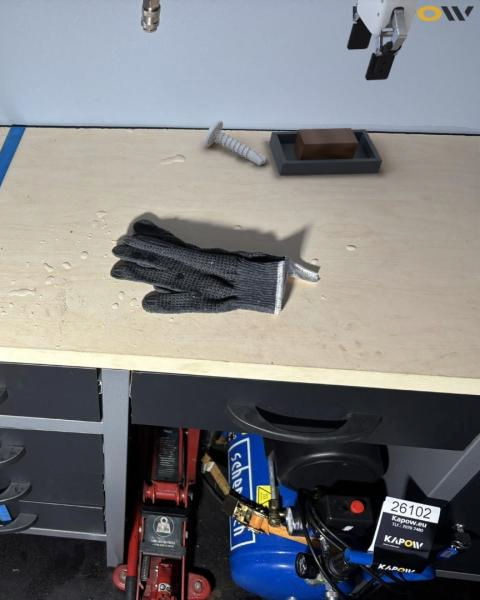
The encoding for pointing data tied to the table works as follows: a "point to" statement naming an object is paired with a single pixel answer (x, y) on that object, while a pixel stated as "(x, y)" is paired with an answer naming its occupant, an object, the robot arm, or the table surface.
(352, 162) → the tray
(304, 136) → the block
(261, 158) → the screw
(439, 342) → the table surface
